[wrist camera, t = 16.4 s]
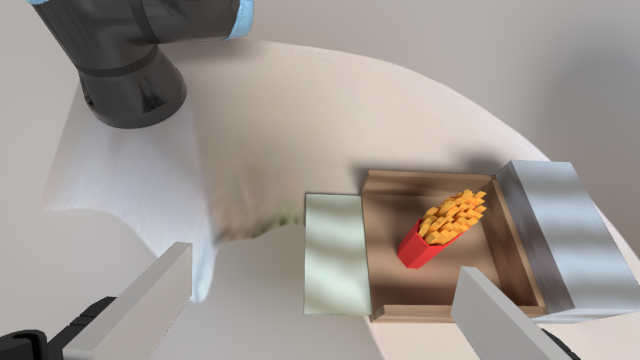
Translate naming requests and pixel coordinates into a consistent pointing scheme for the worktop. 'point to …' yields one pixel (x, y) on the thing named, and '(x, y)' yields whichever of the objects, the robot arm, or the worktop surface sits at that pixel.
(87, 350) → the robot arm
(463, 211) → the french fries
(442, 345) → the worktop surface
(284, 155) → the worktop surface
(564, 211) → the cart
